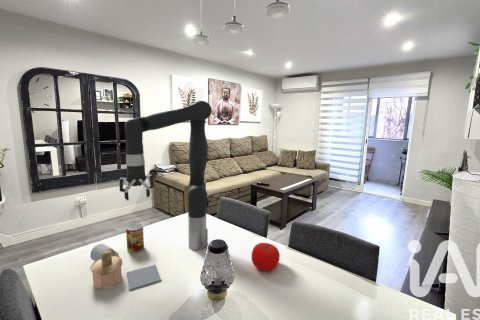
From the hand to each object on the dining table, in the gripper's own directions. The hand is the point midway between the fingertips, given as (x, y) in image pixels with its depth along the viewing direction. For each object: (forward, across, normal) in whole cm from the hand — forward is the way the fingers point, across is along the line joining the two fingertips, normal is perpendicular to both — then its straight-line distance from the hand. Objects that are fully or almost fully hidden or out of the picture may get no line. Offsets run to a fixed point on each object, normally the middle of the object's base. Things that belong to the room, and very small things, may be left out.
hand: (137, 198), depth 109 cm
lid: (+24, +14, +11) cm, 30 cm away
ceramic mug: (+30, +15, -6) cm, 34 cm away
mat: (+30, +1, +16) cm, 34 cm away
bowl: (+30, +14, +11) cm, 35 cm away
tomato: (+31, -48, +34) cm, 67 cm away
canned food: (+30, +1, -10) cm, 32 cm away
